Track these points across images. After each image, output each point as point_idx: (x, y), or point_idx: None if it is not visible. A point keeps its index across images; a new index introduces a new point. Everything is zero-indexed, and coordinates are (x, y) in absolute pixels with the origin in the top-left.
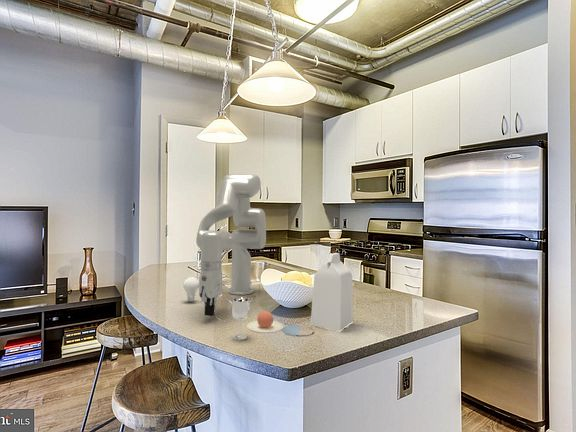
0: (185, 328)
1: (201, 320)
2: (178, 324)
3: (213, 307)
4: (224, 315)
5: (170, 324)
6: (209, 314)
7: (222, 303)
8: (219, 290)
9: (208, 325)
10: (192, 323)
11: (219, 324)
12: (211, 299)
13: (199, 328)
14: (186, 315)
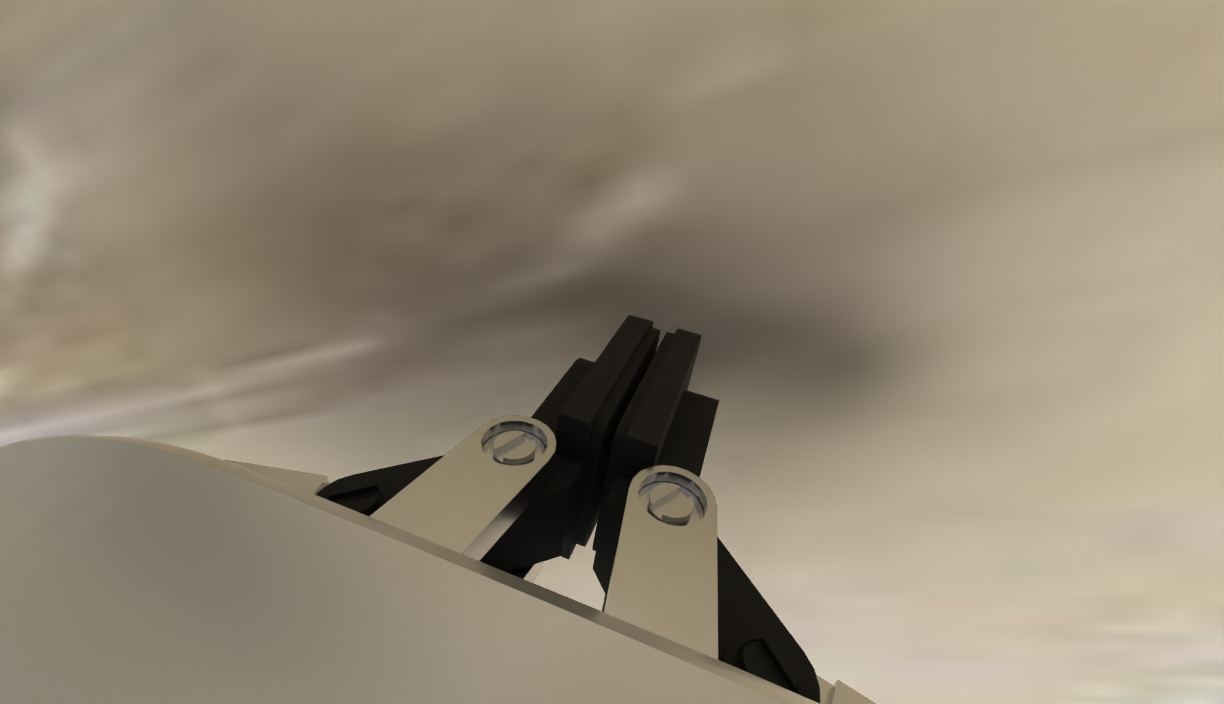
0: (1146, 582)
1: (743, 435)
2: (931, 642)
3: (620, 397)
4: (451, 175)
5: (927, 699)
6: (685, 387)
7: (118, 316)
8: (65, 689)
9: (1016, 304)
10: (889, 520)
11: (963, 112)
12: (665, 617)
13: (1199, 414)
14: (592, 580)
